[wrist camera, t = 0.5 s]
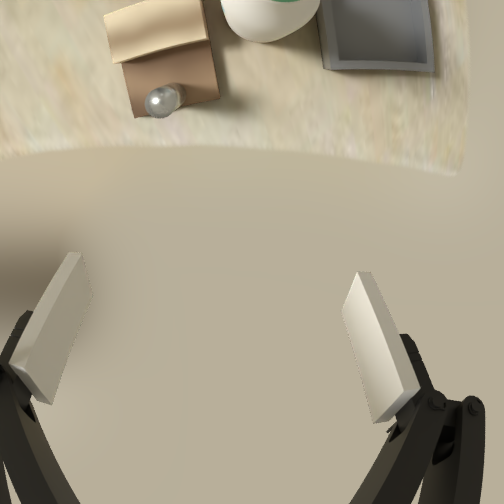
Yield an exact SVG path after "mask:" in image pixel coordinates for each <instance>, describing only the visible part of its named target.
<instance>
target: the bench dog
mask: <svg viewBox="0 0 504 504" xmlns="http://www.w3.org/2000/svg"><path fill="white" fill-rule="evenodd" d="M185 99H186V91H185V89H184V87H183V86H182V85H180V84H178V83H169V84H166V85H163V86H161V87H158V88H156V89H154V90H152V91H151V92H149V94H148V95H147V97H146V99H145V108H146V111H147V112H148V113H149V114H150V115H151V116H152V117H155V118H165V117H167V116H169V115H170V114H171V113H172V112H174V111H175V110H176V109H177V108H178V107H179V106H181V105H182V104H183V103H184V101H185Z"/></svg>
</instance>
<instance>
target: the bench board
mask: <svg viewBox="0 0 504 504" xmlns="http://www.w3.org/2000/svg"><path fill="white" fill-rule="evenodd" d="M201 1H202V0H201ZM202 6H203V1H202ZM203 11H204V6H203ZM204 17H205V12H204ZM205 22H206V17H205ZM206 28H207V23H206ZM207 33H208V28H207ZM208 38H209V33H208ZM121 64H122V68H123V73H124V77H125V82H126V86H127V90H128V94H129V98H130V103H131V107H132V111H133V114H134V118H138V117H141V116H145V115H149V113H148V112H147V111H146V108H145V99H146V97H147V95H148V94H149V92H151V91H152V90H154V89H156V88H158V87H161V86H163V85H166V84H169V83H178V84H180V85H182V86H183V87H184V89H185V91H186V99H185V101H184V103H183V104H182V105H181V106H186V105H190V104H195V103H200V102H205V101H210V100H215V99H220V92H219V87H218V82H217V76H216V71H215V66H214V60H213V55H212V50H211V44H210V39H209V40H205V41H200V42H195V43H190V44H186V45H182V46H178V47H174V48H170V49H166V50H162V51H159V52H155V53H151V54H148V55H145V56H141V57H138V58H135V59H132V60H129V61H126V62H123V63H121ZM181 106H179V107H181Z"/></svg>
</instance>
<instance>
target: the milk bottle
mask: <svg viewBox="0 0 504 504" xmlns="http://www.w3.org/2000/svg"><path fill="white" fill-rule="evenodd" d="M319 4H320V0H221V5H222V9H223V12H224V15H225V18H226V20H227V22H228V24H229V26H230V27H231V29H232V30H233V31H234V32H235V33H236V34H237V35H239V36H240V37H242V38H244V39H246V40H249V41H252V42H259V43H265V42H272V41H275V40H278V39H281V38H283V37H285V36H287V35H289V34H291V33H293V32H295V31H296V30H298V29H300V28H301V27H302V26H304V25H305V24H306V23H307V22H308V21H310V19H311V18H312V17H313V16H314V14H315V13H316V11H317V9H318V7H319Z"/></svg>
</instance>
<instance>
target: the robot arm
mask: <svg viewBox="0 0 504 504" xmlns="http://www.w3.org/2000/svg"><path fill="white" fill-rule="evenodd" d="M92 298H93V292H92V289H91V285H90V281H89V278H88V274H87V270H86V266H85V262H84V258H83V254H82V253H75V252H69V253H68V255H67V256H66V258H65V259H64V261H63V262H62V264H61V266H60V267H59V269H58V270H57V272H56V274H55V275H54V277H53V279H52V280H51V282H50V284H49V286H48V287H47V289H46V291H45V293H44V294H43V296H42V298H41V299H40V301H39V303H38V305H37V307H36V309H35V310H34V311H28V310H27V311H26V312H25V313H24V314H23V315H22V316H21V317H20V318H19V320H18V322H17V323H16V325H15V329H13V331H12V333H11V336H10V337H9V339H8V341H7V343H6V345H5V347H4V349H3V351H2V353H1V355H0V504H12V503H11V499H10V494H9V490H8V486H7V480H6V475H5V470H4V464H5V467H6V469H7V472H8V474H9V477H10V479H11V481H12V484H13V486H14V489H15V491H16V493H17V495H18V497H19V500H20V502H21V504H80V502H79V501H78V499H77V497H76V496H75V494H74V492H73V490H72V489H71V487H70V485H69V483H68V482H67V480H66V478H65V476H64V474H63V472H62V471H61V469H60V467H59V465H58V463H57V461H56V459H55V456H54V454H53V452H52V450H51V448H50V446H49V444H48V441H47V440H46V437H45V435H44V433H43V430H42V428H41V425H40V423H39V421H38V418H37V415H36V413H35V410H34V407H33V405H32V403H31V401H30V398H31V395H33V396H34V397H35V398H36V400H37V401H40V402H43V403H46V404H50V405H52V404H53V400H54V397H55V394H56V391H57V388H58V385H59V382H60V379H61V376H62V373H63V370H64V368H65V365H66V362H67V359H68V357H69V354H70V351H71V348H72V346H73V343H74V341H75V338H76V336H77V333H78V331H79V328H80V326H81V323H82V321H83V319H84V316H85V314H86V311H87V309H88V307H89V305H90V302H91V300H92ZM341 313H342V316H343V319H344V322H345V325H346V329H347V332H348V335H349V339H350V342H351V345H352V349H353V352H354V355H355V359H356V362H357V366H358V369H359V372H360V376H361V379H362V383H363V387H364V391H365V394H366V398H367V402H368V406H369V409H370V413H371V417H372V421H373V424H374V423H381V422H386V421H389V420H390V419H391V418H392V417H393V416H394V415H395V416H396V419H397V422H395V423H394V424H393V425H392V426H391V427H390V428H389V429H388V430H387V433H389V432H390V431H391V432H390V434H389V436H388V438H387V440H386V442H385V444H384V446H383V448H382V449H381V451H380V453H379V455H378V457H377V459H376V460H375V462H374V464H373V466H372V468H371V469H370V471H369V473H368V474H367V476H366V478H365V479H364V482H363V483H362V484H361V486H360V488H359V489H358V491H357V492H356V494H355V496H354V497H353V499H352V500H351V502H350V503H349V504H411V502H412V501H413V499H414V496H415V494H416V492H417V490H418V488H419V485H420V484H421V481H422V479H423V483H422V488H421V493H420V498H419V502H418V504H480V497H481V488H482V479H483V468H484V453H485V408H484V405H483V403H482V401H481V400H480V399H479V398H477V397H475V396H468V397H466V398H465V399H464V400H463V401H462V402H460V401H454V400H448V399H447V398H446V397H445V396H444V394H442V393H441V392H440V391H437V390H435V389H434V387H433V385H432V383H431V380H430V378H429V375H428V373H427V370H426V368H425V366H424V363H423V361H422V358H421V356H420V354H419V351H418V349H417V347H416V344H415V342H414V341H413V340H412V339H411V338H410V336H409V335H408V334H399V333H398V330H397V328H396V326H395V323H394V321H393V319H392V317H391V314H390V312H389V310H388V308H387V305H386V303H385V301H384V299H383V297H382V295H381V293H380V290H379V288H378V286H377V284H376V282H375V280H374V278H373V276H372V274H371V272H357V273H356V275H355V278H354V281H353V283H352V286H351V288H350V291H349V293H348V296H347V298H346V301H345V303H344V305H343V308H342V310H341ZM3 461H4V464H3ZM423 477H424V478H423Z"/></svg>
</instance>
